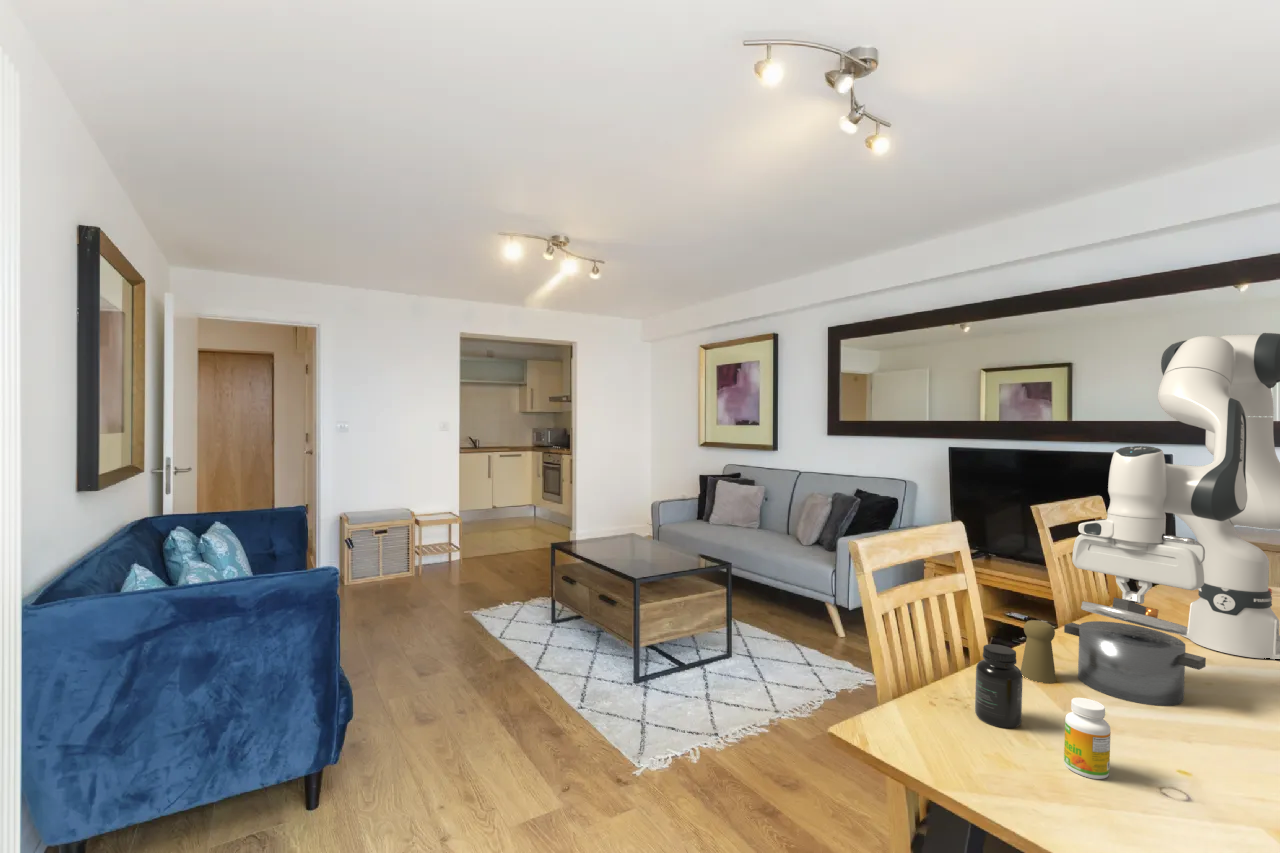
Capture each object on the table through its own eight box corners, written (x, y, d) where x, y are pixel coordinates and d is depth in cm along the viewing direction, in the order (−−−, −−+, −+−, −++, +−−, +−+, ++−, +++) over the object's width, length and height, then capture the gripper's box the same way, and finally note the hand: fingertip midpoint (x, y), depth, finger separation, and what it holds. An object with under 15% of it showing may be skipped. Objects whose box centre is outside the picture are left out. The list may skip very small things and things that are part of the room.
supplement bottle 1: (1000, 708, 109) (1002, 640, 109) (1031, 727, 102) (1033, 655, 102) (965, 711, 108) (967, 642, 108) (994, 730, 101) (996, 657, 101)
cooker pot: (1085, 659, 133) (1086, 613, 133) (1217, 699, 114) (1219, 645, 114) (1046, 674, 125) (1048, 624, 124) (1182, 720, 106) (1184, 662, 106)
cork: (1061, 684, 120) (1063, 628, 120) (1027, 681, 121) (1028, 625, 121) (1047, 672, 126) (1049, 618, 125) (1015, 669, 127) (1016, 616, 127)
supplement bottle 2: (1054, 759, 93) (1056, 695, 93) (1088, 758, 93) (1090, 694, 93) (1083, 780, 87) (1085, 712, 87) (1119, 779, 88) (1121, 711, 88)
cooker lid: (1102, 615, 130) (1104, 599, 131) (1200, 640, 117) (1202, 621, 117) (1066, 604, 122) (1069, 586, 123) (1166, 628, 109) (1169, 608, 109)
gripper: (1212, 538, 112) (1209, 614, 112) (1084, 521, 130) (1082, 587, 130) (1198, 541, 109) (1195, 619, 109) (1069, 523, 127) (1067, 590, 127)
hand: (1133, 601), depth 120 cm, fingers closed, pressing on cooker lid
